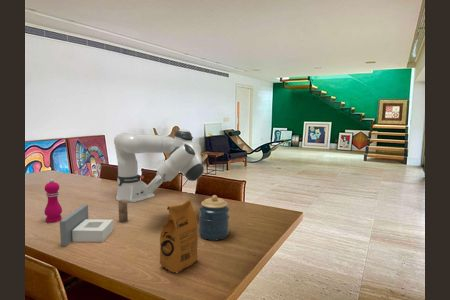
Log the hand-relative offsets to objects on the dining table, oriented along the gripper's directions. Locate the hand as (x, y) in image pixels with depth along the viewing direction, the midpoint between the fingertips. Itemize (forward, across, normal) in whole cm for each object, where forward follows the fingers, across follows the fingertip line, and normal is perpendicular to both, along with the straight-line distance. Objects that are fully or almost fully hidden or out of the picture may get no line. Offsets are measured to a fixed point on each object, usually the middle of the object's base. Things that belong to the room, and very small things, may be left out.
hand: (145, 192), depth 137 cm
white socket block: (+23, -16, +2) cm, 28 cm away
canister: (-12, -14, -33) cm, 38 cm away
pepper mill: (+41, 0, +21) cm, 46 cm away
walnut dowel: (+18, 0, -2) cm, 18 cm away
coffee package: (-4, -39, -25) cm, 46 cm away
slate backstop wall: (+28, -16, +8) cm, 33 cm away
